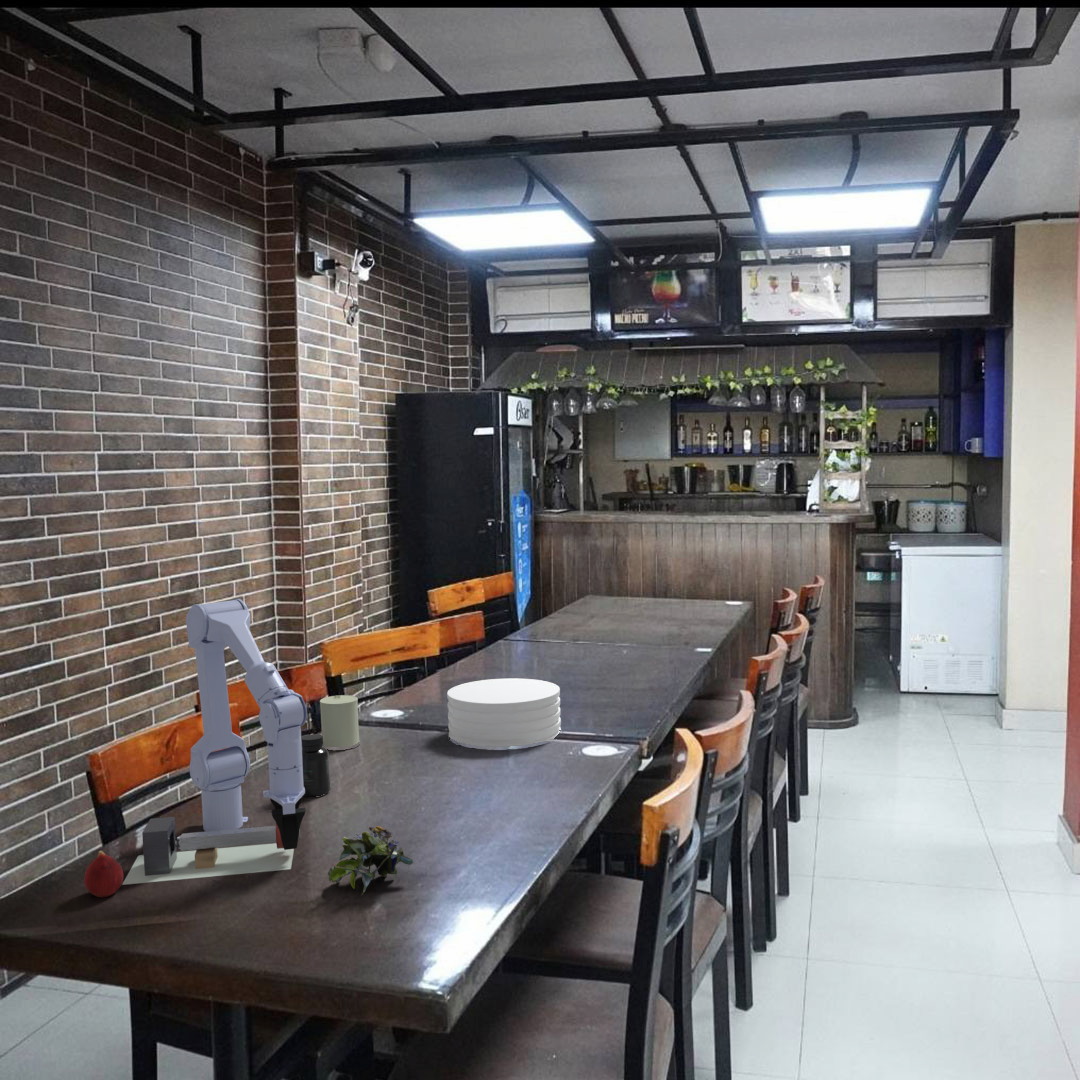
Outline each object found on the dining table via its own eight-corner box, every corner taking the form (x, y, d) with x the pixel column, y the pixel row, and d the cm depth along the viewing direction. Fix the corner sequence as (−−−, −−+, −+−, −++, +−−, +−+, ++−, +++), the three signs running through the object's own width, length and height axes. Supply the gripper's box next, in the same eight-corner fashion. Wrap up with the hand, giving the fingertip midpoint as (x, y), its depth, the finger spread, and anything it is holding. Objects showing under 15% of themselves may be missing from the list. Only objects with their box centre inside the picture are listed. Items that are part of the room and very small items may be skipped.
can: (356, 739, 263) (354, 691, 262) (362, 748, 254) (360, 699, 253) (319, 743, 260) (317, 695, 259) (324, 752, 251) (321, 703, 250)
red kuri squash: (129, 891, 172) (126, 843, 172) (117, 906, 167) (113, 857, 166) (93, 892, 172) (90, 845, 172) (79, 907, 166) (76, 858, 166)
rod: (177, 851, 183) (176, 823, 182) (301, 840, 186) (299, 813, 186) (172, 862, 178) (171, 833, 177) (299, 850, 181) (298, 822, 181)
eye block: (152, 860, 183) (150, 818, 182) (176, 858, 184) (174, 816, 183) (144, 875, 176) (142, 832, 175) (169, 873, 177) (167, 830, 176)
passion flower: (383, 908, 175) (424, 849, 176) (363, 925, 165) (406, 862, 165) (331, 867, 178) (371, 808, 178) (307, 881, 167) (350, 818, 167)
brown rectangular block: (199, 858, 183) (199, 844, 183) (217, 856, 184) (216, 842, 184) (195, 868, 178) (194, 854, 178) (213, 867, 179) (213, 853, 179)
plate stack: (583, 737, 259) (582, 691, 258) (486, 758, 243) (484, 709, 242) (521, 715, 282) (520, 673, 281) (428, 733, 267) (427, 689, 266)
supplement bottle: (314, 786, 226) (312, 731, 225) (337, 791, 222) (334, 735, 221) (290, 795, 220) (287, 738, 219) (312, 800, 216) (310, 743, 215)
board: (138, 861, 185) (138, 855, 185) (295, 847, 190) (295, 841, 190) (122, 890, 173) (122, 884, 173) (291, 874, 177) (290, 868, 177)
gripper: (260, 756, 188) (264, 830, 189) (262, 779, 174) (266, 859, 175) (301, 752, 190) (304, 825, 191) (306, 775, 176) (309, 854, 177)
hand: (289, 841), depth 183 cm, fingers open, 6 cm apart
